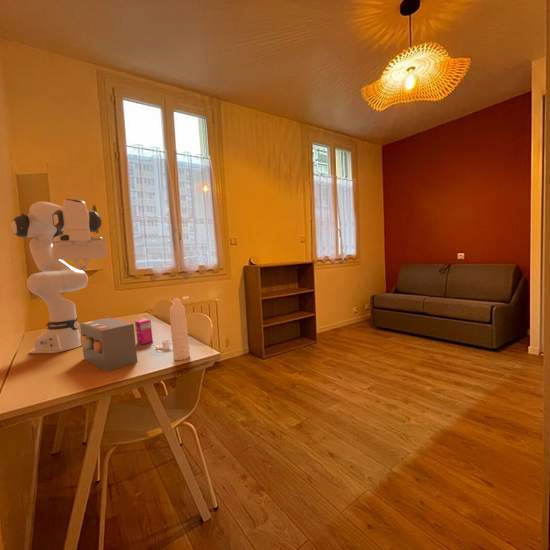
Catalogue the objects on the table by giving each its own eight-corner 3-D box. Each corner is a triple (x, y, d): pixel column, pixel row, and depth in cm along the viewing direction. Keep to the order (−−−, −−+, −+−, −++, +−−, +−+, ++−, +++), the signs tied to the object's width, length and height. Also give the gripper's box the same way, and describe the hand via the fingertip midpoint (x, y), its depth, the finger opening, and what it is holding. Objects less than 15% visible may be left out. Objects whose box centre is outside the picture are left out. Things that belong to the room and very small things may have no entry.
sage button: (86, 351, 122) (84, 341, 122) (82, 349, 125) (81, 339, 125) (94, 349, 125) (93, 339, 124) (90, 347, 127) (89, 337, 127)
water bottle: (178, 361, 124) (172, 300, 122) (170, 358, 129) (165, 299, 127) (197, 355, 130) (192, 296, 128) (189, 352, 135) (184, 296, 133)
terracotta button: (97, 353, 118) (96, 343, 118) (93, 351, 121) (92, 341, 121) (105, 351, 120) (104, 341, 120) (101, 349, 123) (100, 339, 123)
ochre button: (83, 346, 129) (82, 337, 129) (80, 345, 132) (79, 336, 131) (91, 344, 131) (90, 335, 131) (88, 343, 134) (87, 334, 134)
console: (106, 371, 118) (101, 329, 117) (83, 359, 135) (79, 322, 134) (137, 362, 127) (133, 323, 125) (112, 351, 144) (109, 316, 143)
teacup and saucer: (153, 350, 143) (152, 341, 143) (169, 345, 149) (169, 337, 149) (161, 353, 137) (160, 344, 137) (178, 349, 142) (177, 340, 142)
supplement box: (136, 343, 155) (134, 321, 154) (148, 340, 159) (146, 318, 158) (141, 345, 151) (139, 322, 150) (153, 342, 155) (151, 320, 154)
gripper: (102, 237, 141) (105, 267, 142) (48, 238, 126) (52, 271, 127) (107, 236, 137) (110, 267, 138) (52, 236, 122) (56, 271, 123)
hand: (82, 269), depth 133 cm, fingers closed
